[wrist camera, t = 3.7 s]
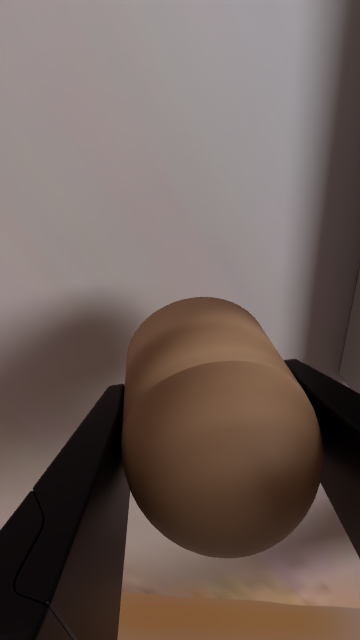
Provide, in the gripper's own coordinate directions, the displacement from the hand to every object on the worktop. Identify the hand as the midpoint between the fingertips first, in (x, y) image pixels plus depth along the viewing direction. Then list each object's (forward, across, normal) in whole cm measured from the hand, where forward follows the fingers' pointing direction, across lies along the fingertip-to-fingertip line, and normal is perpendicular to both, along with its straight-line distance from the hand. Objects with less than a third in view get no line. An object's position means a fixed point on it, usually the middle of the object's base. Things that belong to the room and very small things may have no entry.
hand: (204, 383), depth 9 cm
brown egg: (+1, 0, 0) cm, 1 cm away
